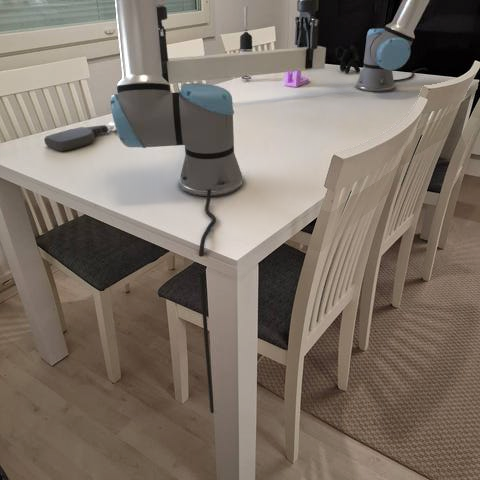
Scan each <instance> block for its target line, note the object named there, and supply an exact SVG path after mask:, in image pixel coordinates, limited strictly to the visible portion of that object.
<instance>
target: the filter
mask: <svg viewBox="0 0 480 480" xmlns="http://www.w3.org/2000/svg"><path fill="white" fill-rule="evenodd" d="M248 9H249V7H248V6H243V14H244V15H243V16H244V22H243V23H244V24H243V25H244V28H245V29H248ZM239 50H240V51H239V53H240V52H252V51H253V35H251V34H250V33H249V32H248V31H244V32H243V33H242V34H241V35H240V36H239ZM241 79H243V80H244V81H245V82H248V81H249V80H252V77H251V76H243V77H241Z"/></svg>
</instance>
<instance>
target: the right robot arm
mask: <svg viewBox="0 0 480 480" xmlns="http://www.w3.org/2000/svg"><path fill="white" fill-rule="evenodd" d="M429 2H430V0H402V1H401V3H400V5H399V7H398V9H397V11H396V13H395V15H394V17H393V20H392V21H391V22H389V23H388V24H386V25H385V26H384V28H370V29H369V30H368V31H367V34H366V40H365V41H366V42H365V49H364V57H363V67H362V70H361V71H360V74H359V77H358V78H357V81H356V89H358V90H361V91H365V92H372V93H373V92H375V93H383V92H389V91H393V90H394V88H395V83H396V82H402V81H407V80H410V79H411V78H413V77H414V76H415V73H417V72H419V71H425V72H429V70H428V69H427V67H426V68H425V67H421V68H418V69H415V70H413V71H411V75H410V76H408V77H405V78H399V79H394V74H393V71H395V70H398V69H400V68H402V67H403V66H404V65H405V64H406V63H407V62H408V61H409V59H410V56H411V46H412V44H413V42H414V40H415V38H416V36H415V29H416V27H417V25H418V23H419V22H420V20H421V18H422V16H423V13H424V12H425V10H426V8H427V6H428V5H429ZM296 4H297V5H296V11H297V12H298V13H299V16H295V18H294V19H295V32H294V46H296V48H300V47H307V49H306V62H305V69H310V68H312V65H313V51H314V49H317V46H319V45H318V43H319V40H318V39H319V27H320V26H319V25H320V18H319V19H317V18H316V15H315V14H316V12H317V11H318V10H319V0H297V2H296ZM305 43H306V45H305Z"/></svg>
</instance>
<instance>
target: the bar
mask: <svg viewBox="0 0 480 480" xmlns="http://www.w3.org/2000/svg"><path fill="white" fill-rule="evenodd" d="M306 49H307V46H305V47H300V48H298V47H291V48H290V47H289V48H277V49H264V50H255V51H253V50H252V52H240V51H239V52H230V53H217V54H216V53H215V54H207V55H206V54H204V55H194V56H182V57H170V58H169V57H168V62H167V70H168V80H169V84H170V85H173V84H183V83H184V84H185V83H195V82H203V81H212V80H222V79H223V80H224V79H230V78H231V79H233V78H242V77H243V76H250V77H251V76H259V75H260V76H262V75H263V76H264V75H272V74H273V75H274V74H281V73H286V72H292V71H293V72H294V71H301V72H302V71H310V70H320V69H325V65H326V54H327V53H326V52H327V47H325V46H320V45H317V49H314V51H313V65H312V68H310V69H305V62H306Z"/></svg>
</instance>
